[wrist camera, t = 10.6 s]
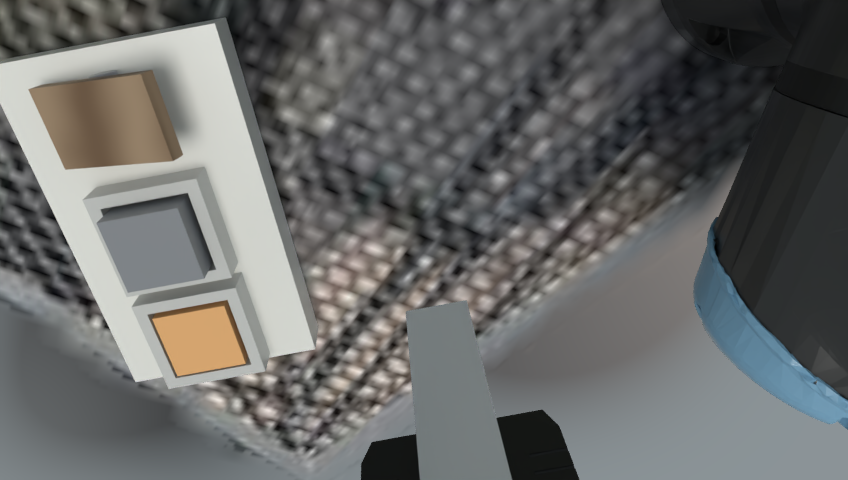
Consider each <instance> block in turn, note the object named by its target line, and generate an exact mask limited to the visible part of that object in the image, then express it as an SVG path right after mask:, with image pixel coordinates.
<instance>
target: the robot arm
mask: <svg viewBox="0 0 848 480" xmlns="http://www.w3.org/2000/svg"><path fill="white" fill-rule="evenodd" d="M661 1H662V4H663V6H664V9H665V11H666V13H667V15H668V17H669V19H670V21H671V22H672V24H673V25H674V27H675V28H676V29H677V31H678V32H679V33H680V34H681V35H682V36H683V37H684V38H685V39H686V40H687V41H688V42H689V43H690V44H692V45H693V46H694V47H696V48H697V49H699V50H701V51H702V52H704V53H706V54H708V55H711V56H713V57H716V58H719V59H722V60H725V61H728V62H731V63H734V64H738V65H744V66H754V67H769V66H779V65H784V64H785V65H784V68H783V70H782V72H781V75H780V77H779V79H778V82H777V84H776V86H775V88H774V89H773V91H772V94H771V96H770V98H769V101H768V103H767V105H766V108H765V110H764V112H763V115H762V117H761V119H760V122H759V124H758V126H757V129H756V131H755V133H754V136H753V138H752V140H751V143H750V145H749V148H748V150H747V152H746V155H745V157H744V159H743V162H742V164H741V166H740V169H739V171H738V173H737V176H736V178H735V180H734V183H733V185H732V187H731V190H730V192H729V194H728V197H727V199H726V202H725V204H724V206H723V208H722V210H721V212H720V215H719V217H716V218H715V219H714V221H713V223H712V224H711V227H710V230H709V232H708V238H707V247H706V250H705V253H704V256H703V259H702V262H701V265H700V267H699V270H698V273H697V276H696V278H695V282H694V290H693V295H694V304H695V307H696V310H697V312H698V315H699V316H700V318H701V319H702V322H703V326H704V329H705V330H706V332H707V334H708V335H709V336H710V338H711V339H712V340H713V342H714V343H715V344H716V346H717V347H718V348H719V349H720V350H721V352H722V353H723V354H724V355H725V356H726V357H727V358H728V359H729V360H730V361H731V362H732V363H733V364H734V365H735V366H736V367H737V368H738V369H739V370H741V371H742V372H743V373H744V374H745V375H746V376H748V377H749V378H750V379H751V380H753V381H754V382H755V383H757V384H758V385H759V386H761V387H762V388H763V389H765V390H766V391H767V392H769V393H770V394H772V395H773V396H775V397H776V398H778V399H780V400H782V401H783V402H785V403H786V404H788V405H790V406H791V407H793V408H795V409H797V410H798V411H800V412H802V413H804V414H806V415H808V416H811V417H813V418H815V419H817V420H820V421H822V422H825V423H827V424H833V423H835V422H837V421H838V422H839V423H840V424H841V425H843V426H844V427H845V428H846V429H848V0H661ZM406 320H407V332H408V344H409V356H410V367H411V379H412V391H413V403H414V415H415V427H416V434H415V435H409V436H403V437H398V438H392V439H387V440H381V441H376V442H372V443H371V445H370V447H369V449H368V451H367V453H366V455H365V457H364V459H363V462H362V463H361V480H579V477H578V475H577V472H576V469H575V468H574V464H573V462H572V459H571V456H570V453H569V451H568V449H567V446H566V443H565V440H564V438H563V435H562V432H561V430H560V427H559V426H558V424H556V423H555V422H554V421H553V420H552V419H551V418H550V417H549V416H548V415H547V414H546V413H545V412H544V411H543V410H538V411H532V412H527V413H521V414H516V415H510V416H505V417H499V418H496V415H495V411H494V407H493V403H492V399H491V395H490V391H489V387H488V383H487V379H486V375H485V371H484V368H483V364H482V360H481V356H480V352H479V348H478V344H477V340H476V336H475V332H474V328H473V324H472V320H471V316H470V312H469V308H468V305H467V301H466V300H465V301H460V302H455V303H449V304H444V305H438V306H433V307H427V308H422V309H417V310H411V311H406Z"/></svg>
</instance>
